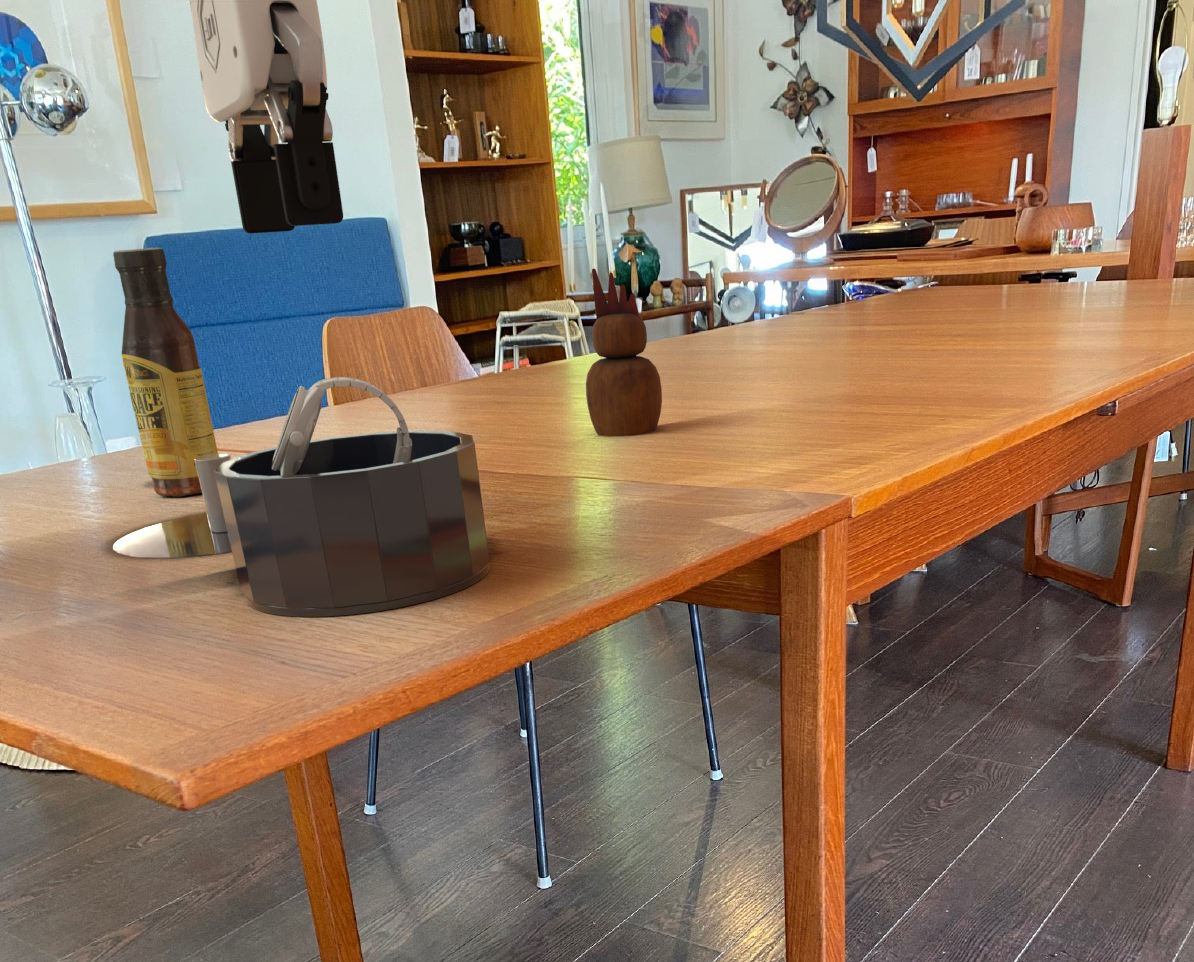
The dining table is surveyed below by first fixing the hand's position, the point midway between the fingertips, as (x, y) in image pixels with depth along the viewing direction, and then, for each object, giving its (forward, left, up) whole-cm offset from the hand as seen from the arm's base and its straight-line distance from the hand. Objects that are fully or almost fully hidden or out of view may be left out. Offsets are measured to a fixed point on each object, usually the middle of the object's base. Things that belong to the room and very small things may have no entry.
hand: (291, 228), depth 69 cm
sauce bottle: (-3, +35, -20) cm, 40 cm away
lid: (-6, +9, -19) cm, 22 cm away
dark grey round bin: (-2, -9, -19) cm, 21 cm away
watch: (-2, -9, -19) cm, 21 cm away
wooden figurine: (+34, +20, -20) cm, 44 cm away
